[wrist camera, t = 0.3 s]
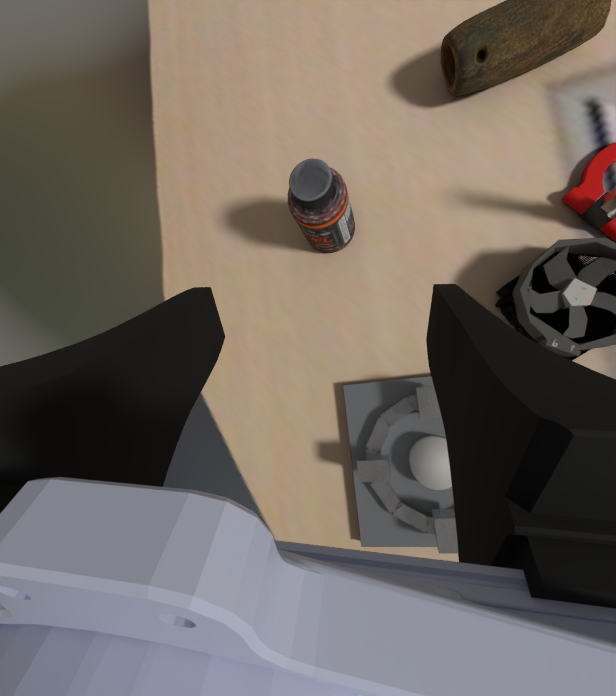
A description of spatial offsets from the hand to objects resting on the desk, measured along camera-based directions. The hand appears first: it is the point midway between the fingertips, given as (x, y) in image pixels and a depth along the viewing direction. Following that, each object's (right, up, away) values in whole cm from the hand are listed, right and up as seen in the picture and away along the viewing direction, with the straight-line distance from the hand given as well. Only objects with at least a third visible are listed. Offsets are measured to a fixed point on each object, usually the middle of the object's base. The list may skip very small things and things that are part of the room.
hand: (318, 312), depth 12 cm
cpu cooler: (+25, +3, +25) cm, 35 cm away
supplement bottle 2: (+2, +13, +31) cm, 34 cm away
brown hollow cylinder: (+22, +31, +28) cm, 47 cm away
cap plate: (+13, -13, +26) cm, 32 cm away
